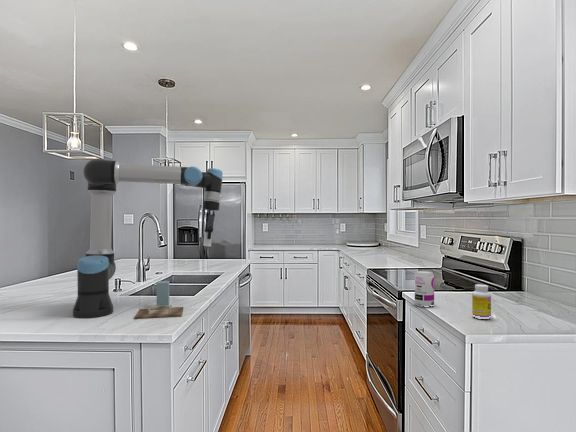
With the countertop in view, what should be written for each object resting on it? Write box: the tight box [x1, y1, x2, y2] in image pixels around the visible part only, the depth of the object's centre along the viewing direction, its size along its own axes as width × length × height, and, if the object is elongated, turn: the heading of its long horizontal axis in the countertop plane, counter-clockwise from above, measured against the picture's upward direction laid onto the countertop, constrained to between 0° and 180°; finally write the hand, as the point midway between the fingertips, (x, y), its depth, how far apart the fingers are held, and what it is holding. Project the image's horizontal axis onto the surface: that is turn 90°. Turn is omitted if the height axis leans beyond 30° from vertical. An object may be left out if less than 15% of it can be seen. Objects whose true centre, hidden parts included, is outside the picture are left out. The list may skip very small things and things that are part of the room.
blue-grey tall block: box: [156, 280, 170, 306], centre depth 180 cm, size 5×5×11 cm
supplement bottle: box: [471, 283, 492, 317], centre depth 158 cm, size 7×7×13 cm
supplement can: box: [414, 270, 435, 308], centre depth 180 cm, size 8×8×15 cm
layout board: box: [133, 304, 184, 320], centre depth 167 cm, size 18×14×2 cm
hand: (206, 246), depth 190 cm, fingers open, 13 cm apart
